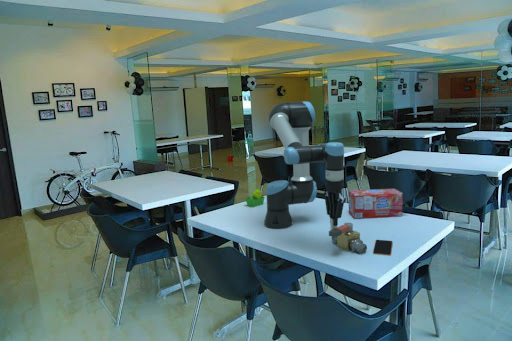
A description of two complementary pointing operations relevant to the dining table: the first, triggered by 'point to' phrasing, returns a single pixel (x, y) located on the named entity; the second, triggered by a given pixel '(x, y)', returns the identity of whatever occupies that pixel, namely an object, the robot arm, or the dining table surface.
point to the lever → (341, 230)
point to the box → (375, 203)
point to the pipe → (350, 242)
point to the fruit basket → (255, 199)
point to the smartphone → (383, 247)
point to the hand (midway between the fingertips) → (333, 232)
